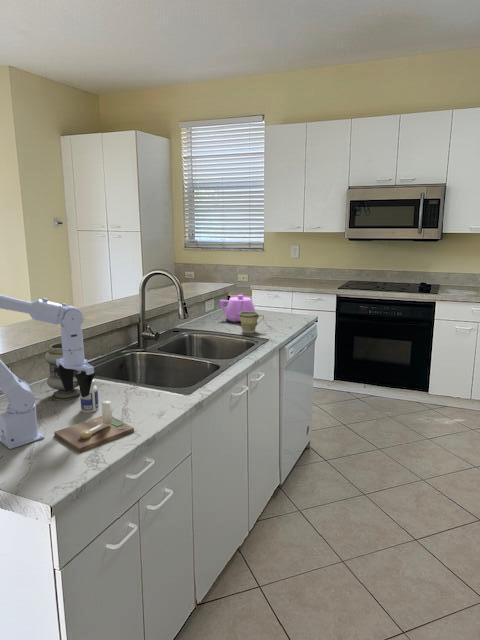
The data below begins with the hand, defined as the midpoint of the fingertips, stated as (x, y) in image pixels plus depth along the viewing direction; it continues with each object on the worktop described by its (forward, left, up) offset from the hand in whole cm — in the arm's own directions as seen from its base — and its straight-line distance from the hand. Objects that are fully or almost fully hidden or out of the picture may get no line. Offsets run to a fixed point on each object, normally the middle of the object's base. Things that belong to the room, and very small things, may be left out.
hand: (77, 393), depth 139 cm
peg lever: (0, -9, -9) cm, 13 cm away
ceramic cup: (+122, +41, -11) cm, 129 cm away
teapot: (+138, +64, -11) cm, 152 cm away
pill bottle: (+9, +9, -11) cm, 16 cm away
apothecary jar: (+10, +26, -11) cm, 30 cm away
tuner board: (+1, -7, -10) cm, 13 cm away
